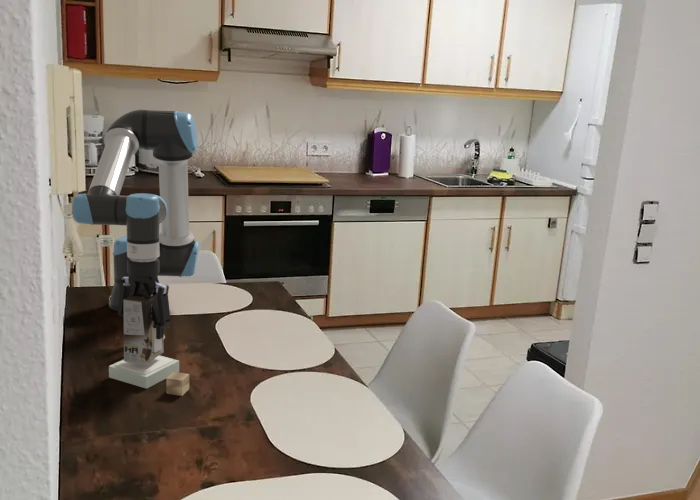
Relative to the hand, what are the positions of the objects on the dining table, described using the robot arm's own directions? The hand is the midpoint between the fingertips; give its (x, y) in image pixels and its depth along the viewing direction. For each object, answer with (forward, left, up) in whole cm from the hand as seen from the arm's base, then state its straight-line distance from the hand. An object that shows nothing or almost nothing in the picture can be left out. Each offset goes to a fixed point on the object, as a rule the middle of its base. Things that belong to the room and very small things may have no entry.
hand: (144, 346), depth 167 cm
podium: (0, 0, -7) cm, 7 cm away
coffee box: (0, 0, -3) cm, 3 cm away
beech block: (+13, -3, -8) cm, 15 cm away
